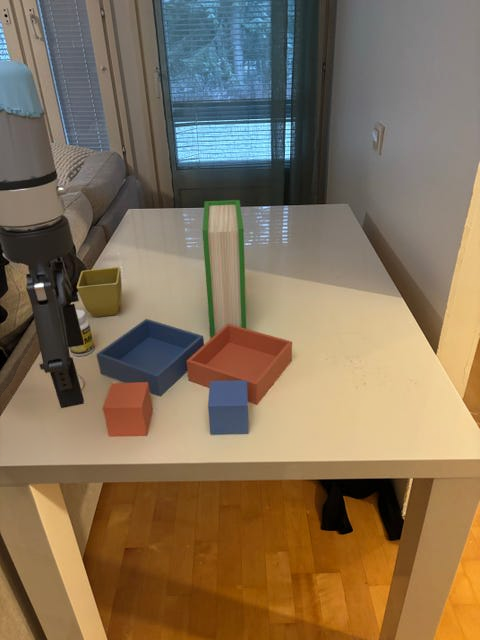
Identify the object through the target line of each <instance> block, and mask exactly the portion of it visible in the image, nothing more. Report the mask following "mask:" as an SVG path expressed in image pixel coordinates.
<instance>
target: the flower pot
mask: <svg viewBox="0 0 480 640" xmlns="http://www.w3.org/2000/svg"><path fill="white" fill-rule="evenodd" d="M121 272H122V271H121V267H119V266H116V267H114V266H113V267H107V268H100V269H99V268H98V269H86V270H81V272H80V275H79V278H78V281H77V285H76V289H77V293H78V296H79V297H80V300H81V302H82V304H83V307H84V308H85V309H86V311H87V312H88V313H89V314H90V315H92V316H93V318H100V317H109V316H116V315H118V313H119V310H120V304H121V297H122V288H123V287H122V286H123V285H122V273H121Z"/></svg>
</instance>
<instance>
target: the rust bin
mask: <svg viewBox="0 0 480 640" xmlns="http://www.w3.org/2000/svg"><path fill="white" fill-rule="evenodd" d="M292 356H293V341H292V340H287V339H284V338H280V337H276V336H273V335H270V334H266V333H263V332H259V331H256V330H252V329H248V328H246V329H245V328H241V327H238V326H234V325H231V324H227V325H226V326H224V327H223V328H222V329H221V330H220V331H219V332H218V333H217V334H216V335H214V336H213V337H212V338H211V339H208V341H206V343H204V345H203V346H202V347H201V348H200V349H199V350H198V351H197V352H196V353H195V354H193V355H192V356H191V357H190V358H189V359H188V360H187V370H188V371H187V378H188V381H189V382H192V383H194V384H197V385H200V386H202V387H205V388H207V389H209V388H210V381H237V380H247V397H248V403H251V404H253V405H256V406H258V404H259V403H260V402H261V401H262V399H263V398H264V397H265V396H266V394H267V393H268V392H269V390H270V389H271V388H272V386H273V385H274V384H275V383H276V382H277V380H278V379H279V378H280V377H281V375H282V374H283V372H284V371H285V370H286V369H287V368H288V366H290V364H291V362H292V360H293V359H292V358H293V357H292Z"/></svg>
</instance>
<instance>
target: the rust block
mask: <svg viewBox="0 0 480 640" xmlns="http://www.w3.org/2000/svg"><path fill="white" fill-rule="evenodd" d="M105 397H106V398H105V400H104V403H103V405H102V412H103V416H104V420H105V424H106V429H107V433H108V437H109V438H110V437H111V438H112V437H147V436H148V433H149V428H150V423H151V420H152V415H153V411H154V409H153V402H152V397H151V393H150V390H149V384H148V382H136V383H124V382H111V384H110V386H109V388H108V392H107V393H106V396H105Z"/></svg>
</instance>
